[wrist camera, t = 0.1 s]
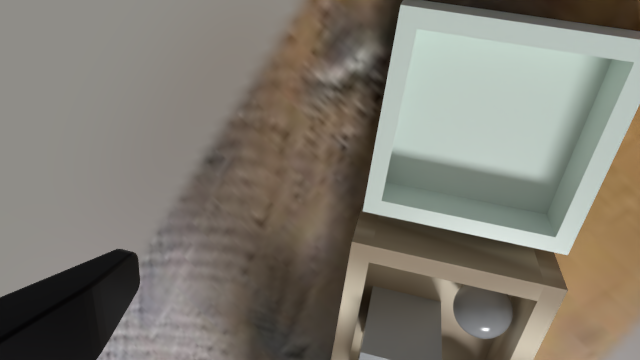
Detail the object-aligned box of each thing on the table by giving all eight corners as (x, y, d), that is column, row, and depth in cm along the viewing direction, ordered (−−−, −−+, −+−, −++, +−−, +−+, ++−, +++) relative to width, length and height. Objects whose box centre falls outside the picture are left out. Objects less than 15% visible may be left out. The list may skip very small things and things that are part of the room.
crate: (476, 411, 30) (481, 463, 27) (331, 372, 32) (320, 417, 29) (550, 245, 24) (567, 290, 21) (362, 205, 25) (351, 241, 22)
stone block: (425, 349, 28) (423, 423, 24) (362, 333, 29) (349, 402, 24) (441, 302, 26) (442, 373, 22) (372, 285, 27) (360, 352, 22)
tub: (555, 225, 23) (567, 255, 21) (369, 187, 24) (362, 211, 22) (641, 31, 18) (668, 43, 16) (404, -3, 20) (400, 4, 18)
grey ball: (499, 315, 26) (506, 357, 23) (446, 303, 26) (447, 343, 24) (516, 275, 24) (526, 315, 22) (459, 262, 25) (462, 300, 22)
